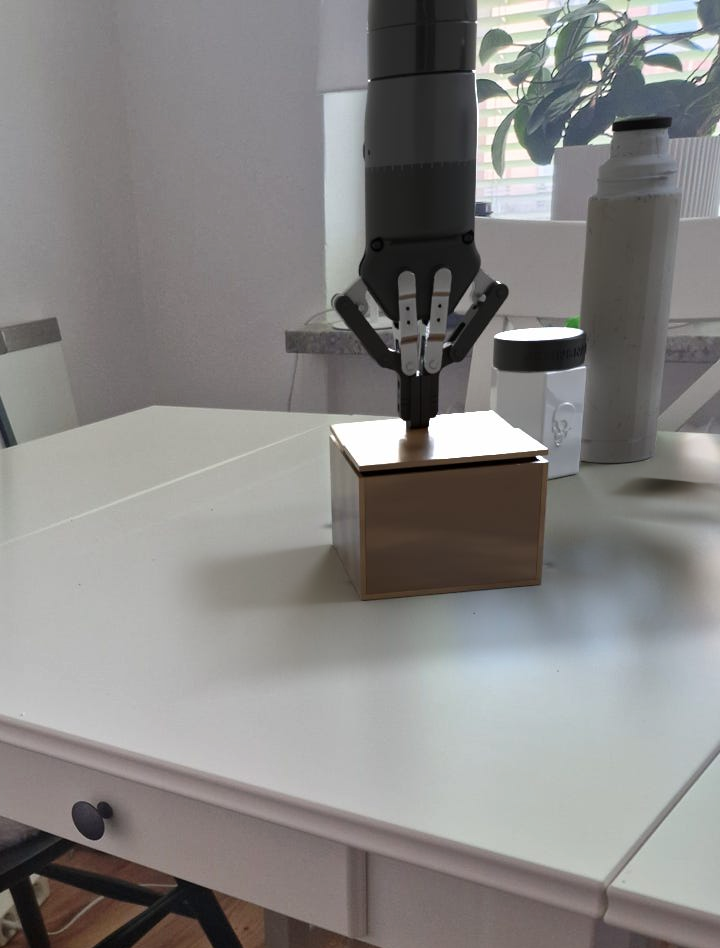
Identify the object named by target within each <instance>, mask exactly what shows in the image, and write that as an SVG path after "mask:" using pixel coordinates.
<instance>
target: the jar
mask: <svg viewBox="0 0 720 948" xmlns="http://www.w3.org/2000/svg"><path fill="white" fill-rule="evenodd" d="M586 336H587V334H586V332H585V331H583V330H580V329H572V328H565V327H536V328H523V329H514V330H509V331H508V330H507V331H504V332H500V333H497V334H495V335H494V337H493V352H492V353H493V354H492V365H491V369H490V397H489V398H490V399H489V411H493V412H495V413H496V414H497V415H498V416H499V417H501V418H502V419H503V420H504V421H505V422H507V423H508V424H509V425H510V426H511V427H513V428H514V429H520V430H521V431H522V432H524V433H525V434H527V435H528V436H530V437H531V438H533V439H534V440H536V441H537V442H538V443H540V444H541V445H543V446H544V447H546V448H547V449H548V455H545V456H541V457H543V458H544V459H545V460H547V461H548V462H549V466H548V481H549V480H554V479H558V478H563V477H569V476H572V475H576V474H578V473H579V471H580V461H581V460H580V447H581V434H582V421H583V408H584V395H585V382H586V369H587V368H586V366H585V365H584V364H583V363H584V362H585V354H586V348H587V343H586Z"/></svg>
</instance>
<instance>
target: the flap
mask: <svg viewBox="0 0 720 948" xmlns="http://www.w3.org/2000/svg"><path fill="white" fill-rule="evenodd" d="M511 429H514V428H513V427H511V426H510V425H509V424H508V423H507V422H505V421H504V420H503V419H502V418H501V417H499V416H498V415H497V414H496V413H495V412H493V411H490V410H485V411H474V412H464V413H463V412H462V413H451V414H450V413H449V414H440V415H439V414H437V416H436V418H433V419H430V426H429V427H424V428H413V429H409V428H408V426H407V425H406V422H405V421H403V420H402V419H401V418H394V419H383V420H380V419H379V420H371V421H370V420H369V421H358V422H347V423H337V424H336V423H335V424H329V431H330V433H331V435H333V436H334V437H335V439H336V441H337V442H338V444H339V446H340V447H341V449H342V451H343V452H345V451H344V446H343V445H344V444H349V443H361V442H372V441H384V440H395V439H407V438H419V437H430V436H442V435H453V434H465V433H476V432H488V431H499V430H511Z"/></svg>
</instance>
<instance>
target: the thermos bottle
mask: <svg viewBox="0 0 720 948" xmlns="http://www.w3.org/2000/svg"><path fill="white" fill-rule="evenodd" d="M672 123H673V117H672V116H660V115H650V116H649V115H648V116H637V117H631V118H624V119H620V120H617V121H613V122H612V123H611V132H612V137H611V140H610V143H609V154H608V155H609V156H608V158H607V159H606V160H605V161H604V162H602V163H601V164H600V165H599V166H598V168H597V177H596V178H595V181H596V189H595V190H596V191H595V192H594V193H592V194H590V195H588V197H587V204H586V205H587V206H586V220H585V235H584V236H585V237H584V248H583V249H584V250H583V263H582V275H581V289H580V291H581V292H580V305H579V315H580V317H579V329H580V330H583V331H585V332H586V334H587V336H586V343H587V348H586V354H585V362H584V363H583V364H584V365H585V366H586V368H587V369H586V382H585V395H584V408H583V421H582V434H581V447H580V460H579V461H582V462H587V463H597V464H622V463H624V464H625V463H633V462H638V461H643V460H647V459H650V458H652V457H653V456H654V455H655V453H656V447H657V446H656V443H657V437H658V435H657V434H658V427H659V416H660V408H661V407H660V406H661V397H662V389H663V388H662V387H663V379H664V378H663V377H664V370H665V369H664V368H665V361H666V350H667V343H668V342H667V341H668V332H669V323H670V315H671V314H670V313H671V305H672V304H671V303H672V295H673V285H674V276H675V266H676V257H677V249H678V236H679V227H680V220H681V210H682V202H683V201H682V200H683V189H681V188H679V187H676V177H677V172H678V171H679V168H678V167H677V166H678V160H677V159H676V158H674V157H673V156H672V155H670V154H669V144H670V135H669V128H671V127H672Z"/></svg>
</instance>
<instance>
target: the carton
mask: <svg viewBox="0 0 720 948" xmlns="http://www.w3.org/2000/svg"><path fill="white" fill-rule="evenodd" d="M328 439H329V440H328V441H329V445H328V446H329V473H330V476H329V477H330V505H331V506H330V508H331V543H332V545H333V547H334V549H335V551H336V553H337V556H338V557H339V560H340V561H341V563H342V565H343V567H344V569H345V571H346V573H347V575H348V578H349V579H350V581H351V583H352V585H353V587H354V590H355V592H356V593H357V595H358V597H359V599H360V601H372V600H383V599H393V598H403V597H413V596H414V597H416V596H426V595H437V594H438V595H439V594H448V593H458V592H459V593H460V592H461V593H462V592H471V591H482V590H493V589H504V588H506V589H507V588H513V587H514V588H515V587H527V586H538V585H542V576H543V575H542V573H543V561H544V560H543V559H544V545H545V544H544V541H545V529H546V528H545V527H546V512H547V499H548V498H547V496H548V483H549V482H548V481H549V480H548V466H549V462H548V461H547V460H545V459H544V458H543V457H541V456H545V455H548V449H547V448H546V447H544V446H543V445H541V444H540V443H538V442H537V441H536V440H534V439H533V438H531V437H530V436H528V435H527V434H525V433H524V432H522V431H521V430H520V429H511V430H499V431H488V432H476V433H465V434H453V435H442V436H430V437H419V438H407V439H395V440H384V441H372V442H361V443H349V444H344V445H343V446H344V451H345V452H343V451H342V449H341V447H340V446H339V444H338V442H337V441H336V439H335V437H334V436H333V434H330V435H329V436H328Z"/></svg>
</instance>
